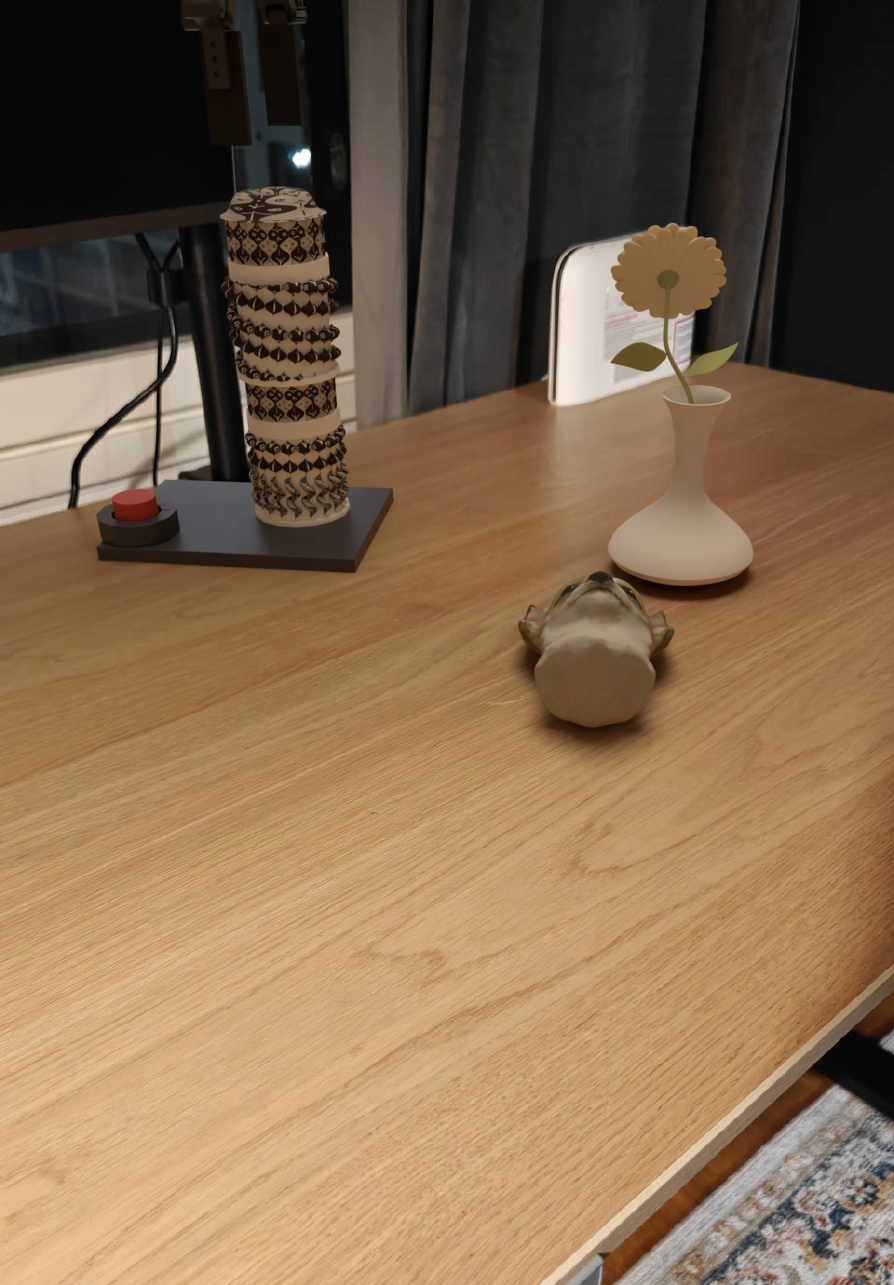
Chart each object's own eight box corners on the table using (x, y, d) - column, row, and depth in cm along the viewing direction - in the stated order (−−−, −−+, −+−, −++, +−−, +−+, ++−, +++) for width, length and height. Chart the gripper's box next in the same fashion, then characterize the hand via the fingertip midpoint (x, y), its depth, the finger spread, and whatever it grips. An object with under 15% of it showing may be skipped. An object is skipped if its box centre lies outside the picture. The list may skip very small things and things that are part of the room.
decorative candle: (264, 536, 95) (224, 204, 81) (239, 499, 102) (198, 188, 88) (367, 519, 98) (347, 194, 83) (336, 484, 105) (313, 179, 90)
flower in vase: (769, 557, 92) (822, 218, 78) (721, 612, 85) (770, 246, 70) (622, 528, 98) (645, 206, 84) (564, 577, 90) (578, 231, 76)
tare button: (108, 523, 94) (104, 503, 93) (125, 507, 97) (121, 487, 96) (149, 525, 94) (146, 505, 93) (165, 509, 97) (161, 489, 96)
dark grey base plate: (90, 560, 95) (82, 526, 93) (159, 491, 108) (153, 460, 106) (355, 573, 92) (352, 538, 90) (393, 500, 104) (392, 468, 103)
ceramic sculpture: (507, 612, 66) (523, 527, 78) (503, 742, 70) (520, 642, 83) (694, 620, 64) (680, 533, 77) (677, 752, 69) (667, 649, 82)
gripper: (216, -300, 60) (260, 155, 73) (329, -229, 80) (348, 118, 93) (83, -292, 61) (149, 155, 74) (227, -224, 81) (260, 118, 94)
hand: (260, 135), depth 83 cm, fingers open, 13 cm apart
